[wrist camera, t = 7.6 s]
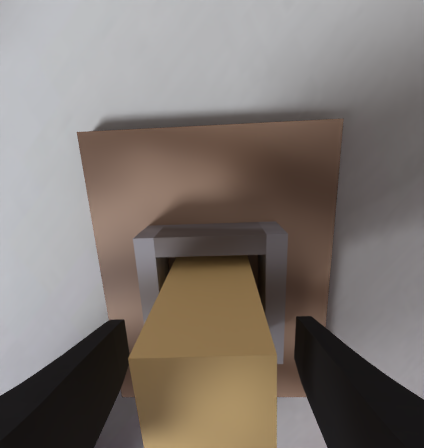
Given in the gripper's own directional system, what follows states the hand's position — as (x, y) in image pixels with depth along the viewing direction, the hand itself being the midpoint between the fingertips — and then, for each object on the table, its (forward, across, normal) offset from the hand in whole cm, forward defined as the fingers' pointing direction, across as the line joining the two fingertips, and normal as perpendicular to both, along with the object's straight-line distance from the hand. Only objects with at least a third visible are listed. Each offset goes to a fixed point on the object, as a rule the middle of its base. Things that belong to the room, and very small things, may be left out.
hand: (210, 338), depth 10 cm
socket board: (+6, 0, 0) cm, 6 cm away
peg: (+5, 0, 0) cm, 5 cm away
